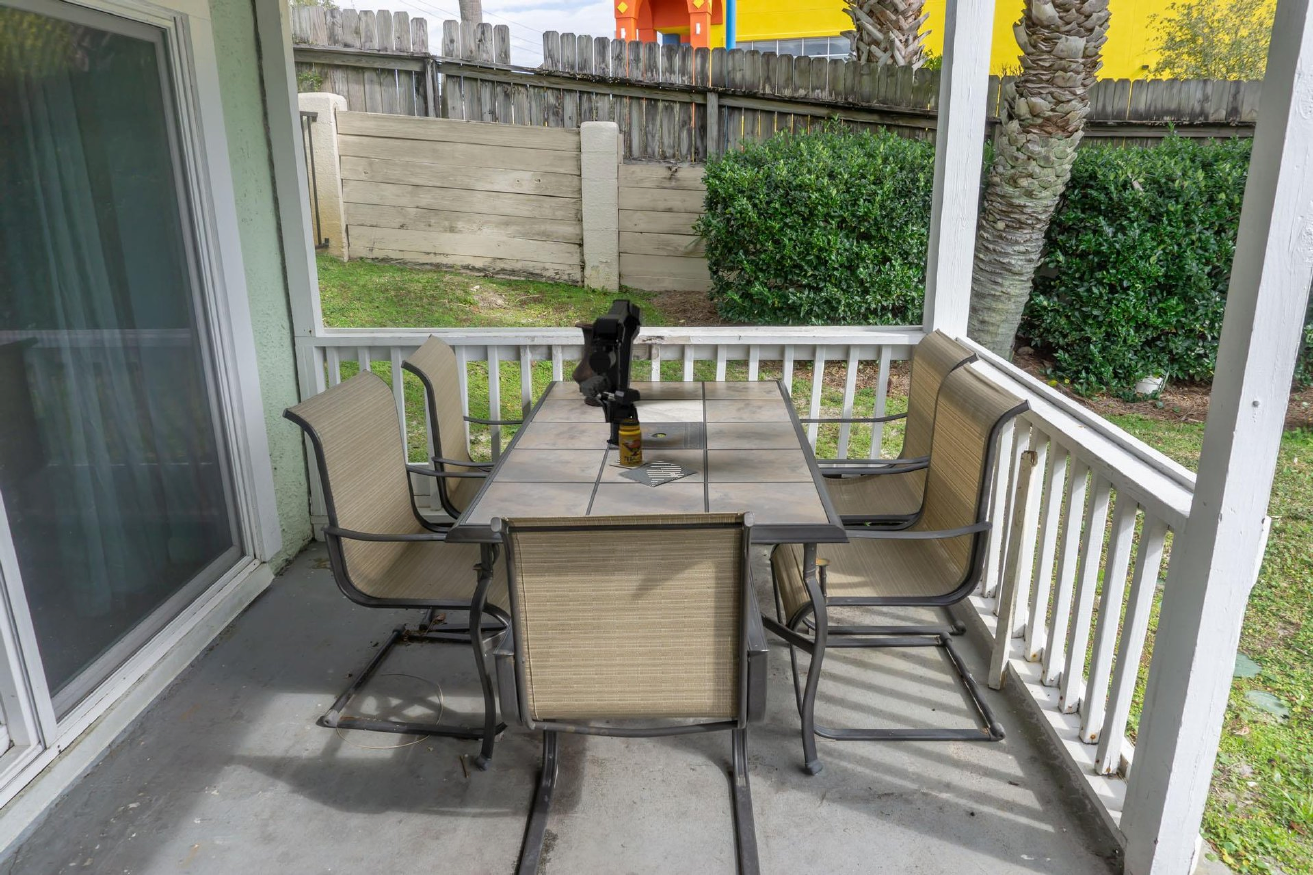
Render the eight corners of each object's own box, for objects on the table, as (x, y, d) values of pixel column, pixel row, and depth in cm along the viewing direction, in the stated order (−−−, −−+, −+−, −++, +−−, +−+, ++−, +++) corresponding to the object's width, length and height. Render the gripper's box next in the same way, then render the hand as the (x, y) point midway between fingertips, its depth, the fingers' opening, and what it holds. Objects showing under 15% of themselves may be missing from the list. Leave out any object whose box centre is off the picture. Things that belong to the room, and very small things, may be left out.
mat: (617, 474, 229) (617, 473, 229) (661, 461, 240) (661, 460, 240) (652, 486, 220) (652, 485, 220) (697, 472, 231) (697, 471, 231)
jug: (563, 407, 294) (560, 317, 286) (584, 394, 311) (581, 308, 303) (624, 412, 288) (622, 320, 280) (641, 399, 305) (641, 311, 297)
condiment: (635, 469, 232) (633, 424, 229) (607, 465, 236) (606, 421, 233) (649, 461, 238) (648, 418, 235) (622, 458, 242) (620, 415, 239)
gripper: (562, 364, 236) (564, 421, 241) (608, 375, 223) (609, 435, 228) (595, 358, 243) (596, 414, 248) (641, 369, 231) (641, 427, 235)
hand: (609, 422), depth 239 cm, fingers closed
